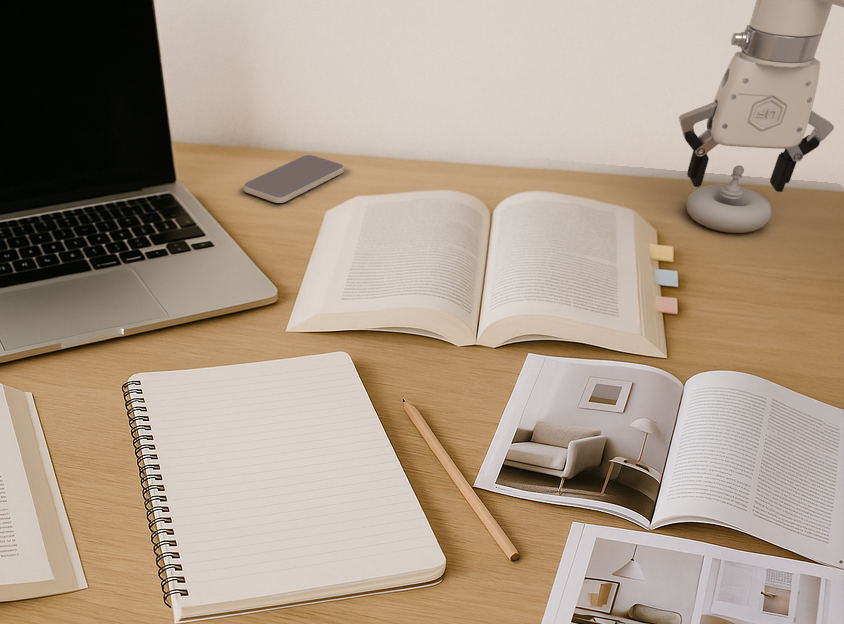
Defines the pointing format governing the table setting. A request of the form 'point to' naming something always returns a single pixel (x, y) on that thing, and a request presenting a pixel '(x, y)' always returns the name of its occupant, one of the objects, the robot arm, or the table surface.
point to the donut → (728, 210)
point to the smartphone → (293, 178)
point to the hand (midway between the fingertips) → (735, 185)
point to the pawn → (733, 185)
